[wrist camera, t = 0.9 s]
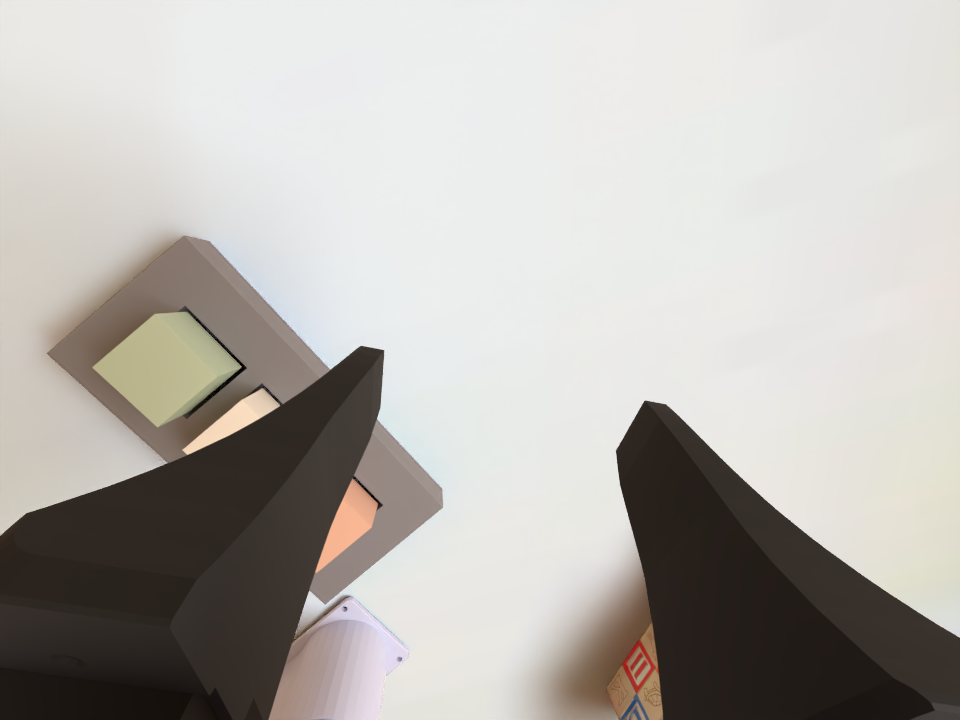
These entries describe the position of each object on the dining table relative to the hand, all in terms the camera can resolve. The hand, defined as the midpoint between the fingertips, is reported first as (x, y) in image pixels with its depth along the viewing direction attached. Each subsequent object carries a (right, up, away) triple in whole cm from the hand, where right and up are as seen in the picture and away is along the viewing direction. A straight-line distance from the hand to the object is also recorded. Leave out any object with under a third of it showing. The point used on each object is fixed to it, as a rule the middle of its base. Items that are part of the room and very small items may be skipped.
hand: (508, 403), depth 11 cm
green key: (-21, +1, +17) cm, 27 cm away
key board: (-17, -4, +21) cm, 27 cm away
